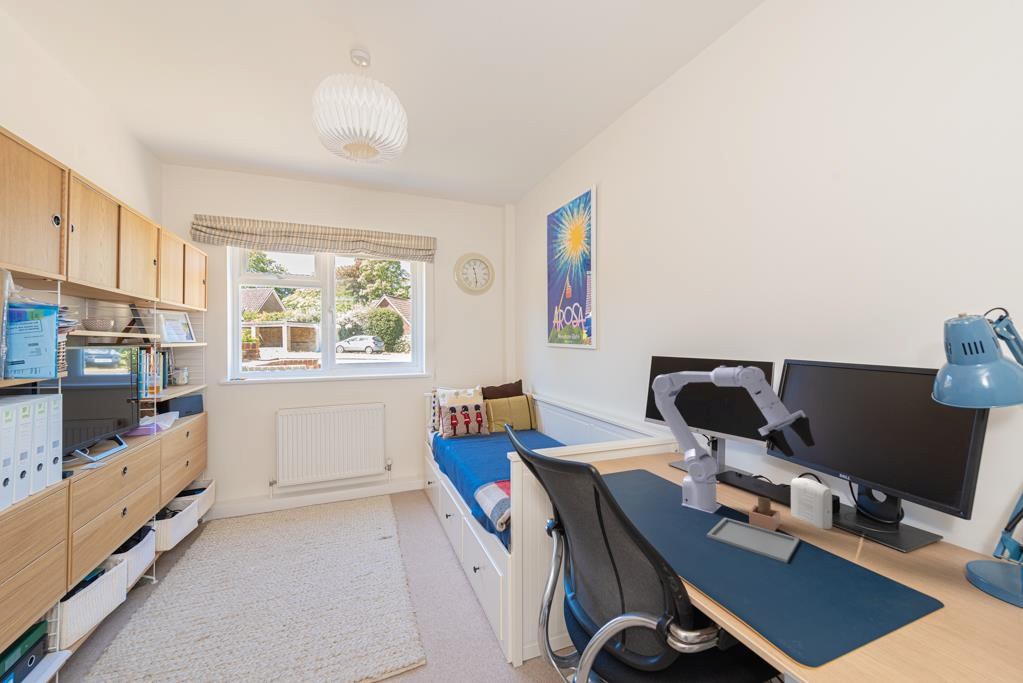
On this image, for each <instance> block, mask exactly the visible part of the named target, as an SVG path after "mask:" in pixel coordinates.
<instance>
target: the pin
mask: <svg viewBox="0 0 1023 683" xmlns="http://www.w3.org/2000/svg"><path fill="white" fill-rule="evenodd" d="M771 501H772V500H771V499H770V498H768V497H763V496H762V497H761V496H760V497H757V506H758V513H759V514H763V515H766V516H770V517H771V509H772V508H771V507H772V506H771Z"/></svg>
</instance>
